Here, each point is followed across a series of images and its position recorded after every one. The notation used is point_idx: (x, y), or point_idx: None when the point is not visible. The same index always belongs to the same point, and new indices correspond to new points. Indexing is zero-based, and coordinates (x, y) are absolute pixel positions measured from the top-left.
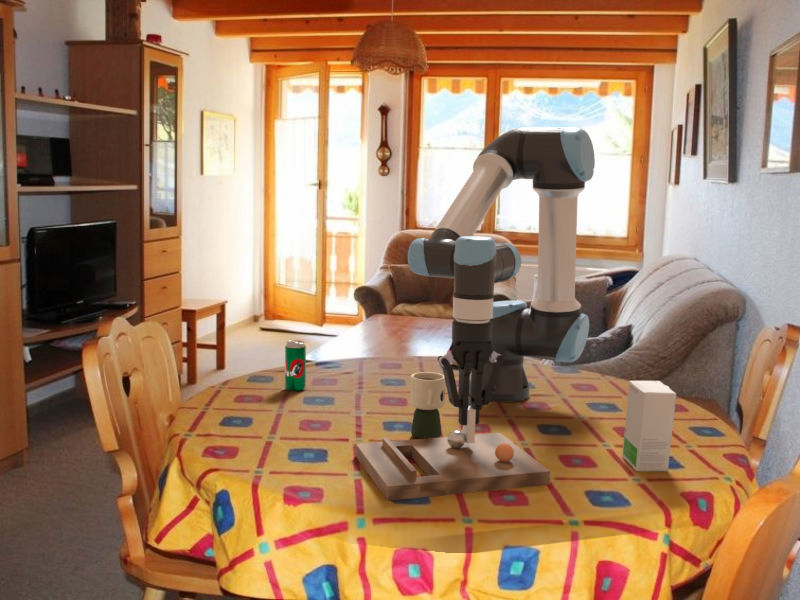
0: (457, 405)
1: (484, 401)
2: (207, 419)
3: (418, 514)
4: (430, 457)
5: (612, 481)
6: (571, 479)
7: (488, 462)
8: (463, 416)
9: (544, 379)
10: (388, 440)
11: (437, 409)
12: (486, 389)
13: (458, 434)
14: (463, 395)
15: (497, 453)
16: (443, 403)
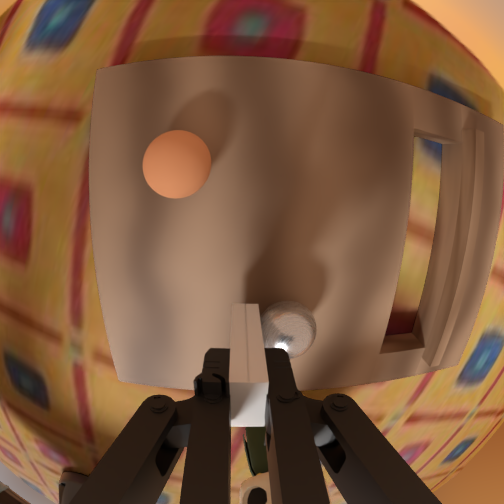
0: (334, 399)
1: (173, 409)
2: (471, 449)
3: (453, 50)
4: (386, 259)
5: (4, 97)
6: (54, 109)
7: (238, 168)
8: (282, 371)
9: (49, 487)
10: (439, 349)
11: (260, 473)
12: (148, 465)
13: (292, 326)
14: (312, 443)
15: (209, 153)
16: (251, 483)
